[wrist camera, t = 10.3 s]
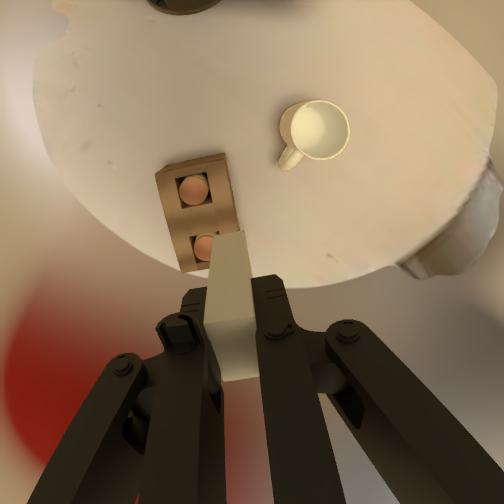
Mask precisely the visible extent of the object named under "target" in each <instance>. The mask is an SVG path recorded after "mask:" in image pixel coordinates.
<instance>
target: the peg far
mask: <svg viewBox="0 0 504 504" xmlns="http://www.w3.org/2000/svg"><path fill="white" fill-rule="evenodd" d="M215 235H220V233H219V231H217V232H211V233H206V234H200V235H197V237H196V240H195V244H194V253H195V255H196V256H197V257H198V258H199V259H201V260H203V261H210V259H211V251H212V243H213V236H215Z"/></svg>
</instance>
